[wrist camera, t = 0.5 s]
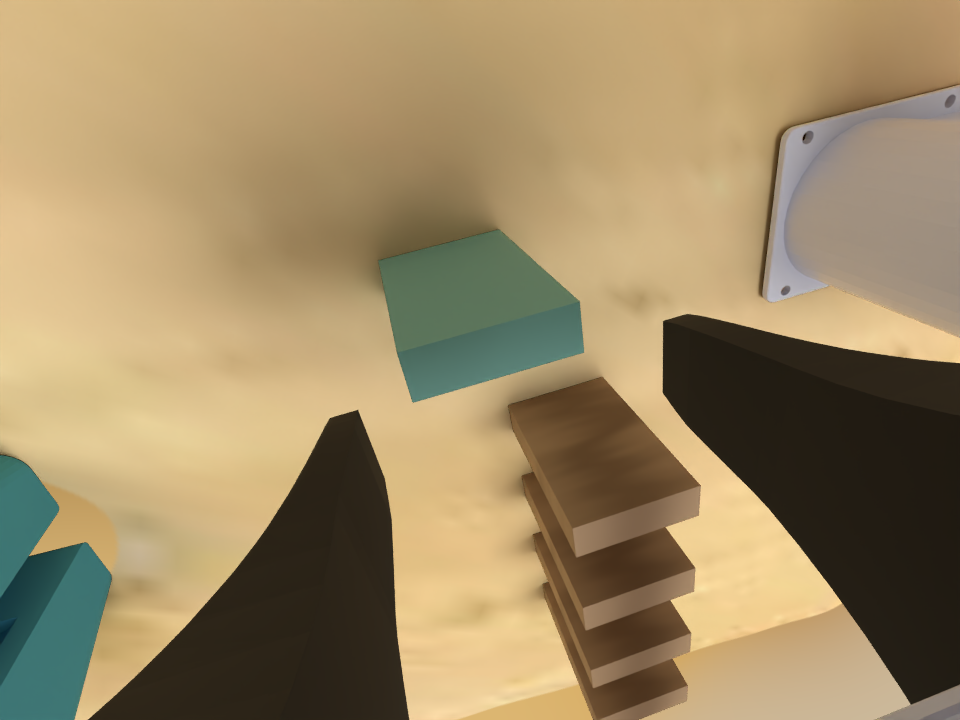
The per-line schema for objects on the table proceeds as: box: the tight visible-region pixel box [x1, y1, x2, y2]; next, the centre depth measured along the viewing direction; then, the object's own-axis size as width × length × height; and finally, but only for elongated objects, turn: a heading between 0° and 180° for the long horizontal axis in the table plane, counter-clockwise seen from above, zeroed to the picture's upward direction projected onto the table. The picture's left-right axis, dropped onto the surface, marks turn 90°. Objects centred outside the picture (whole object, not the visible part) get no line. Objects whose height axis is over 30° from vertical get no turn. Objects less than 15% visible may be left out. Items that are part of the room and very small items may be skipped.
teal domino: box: [378, 230, 584, 403], centre depth 17 cm, size 5×2×8 cm, turn 101°
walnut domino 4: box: [543, 582, 688, 720], centre depth 29 cm, size 5×2×8 cm, turn 101°
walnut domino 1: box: [508, 377, 701, 558], centre depth 22 cm, size 5×2×8 cm, turn 101°
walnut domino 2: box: [522, 472, 695, 630], centre depth 24 cm, size 5×2×8 cm, turn 101°
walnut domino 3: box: [533, 532, 691, 688], centre depth 26 cm, size 5×2×8 cm, turn 101°
